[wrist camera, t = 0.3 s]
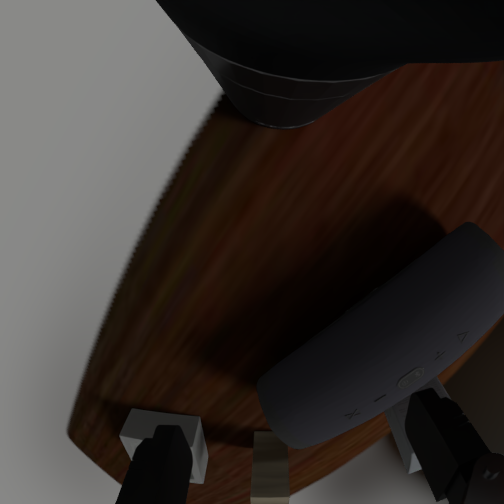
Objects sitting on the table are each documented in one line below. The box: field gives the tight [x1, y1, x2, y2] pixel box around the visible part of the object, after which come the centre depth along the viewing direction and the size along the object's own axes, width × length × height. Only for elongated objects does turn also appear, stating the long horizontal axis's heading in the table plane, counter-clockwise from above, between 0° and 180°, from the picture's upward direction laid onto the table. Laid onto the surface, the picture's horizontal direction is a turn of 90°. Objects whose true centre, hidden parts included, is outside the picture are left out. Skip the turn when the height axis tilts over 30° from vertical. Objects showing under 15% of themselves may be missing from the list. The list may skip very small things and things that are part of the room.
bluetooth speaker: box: [256, 222, 504, 449], centre depth 24 cm, size 23×9×10 cm, turn 131°
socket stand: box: [119, 408, 208, 484], centre depth 33 cm, size 9×9×5 cm
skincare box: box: [384, 376, 451, 474], centre depth 25 cm, size 6×4×12 cm
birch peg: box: [251, 431, 290, 504], centre depth 30 cm, size 4×4×10 cm
